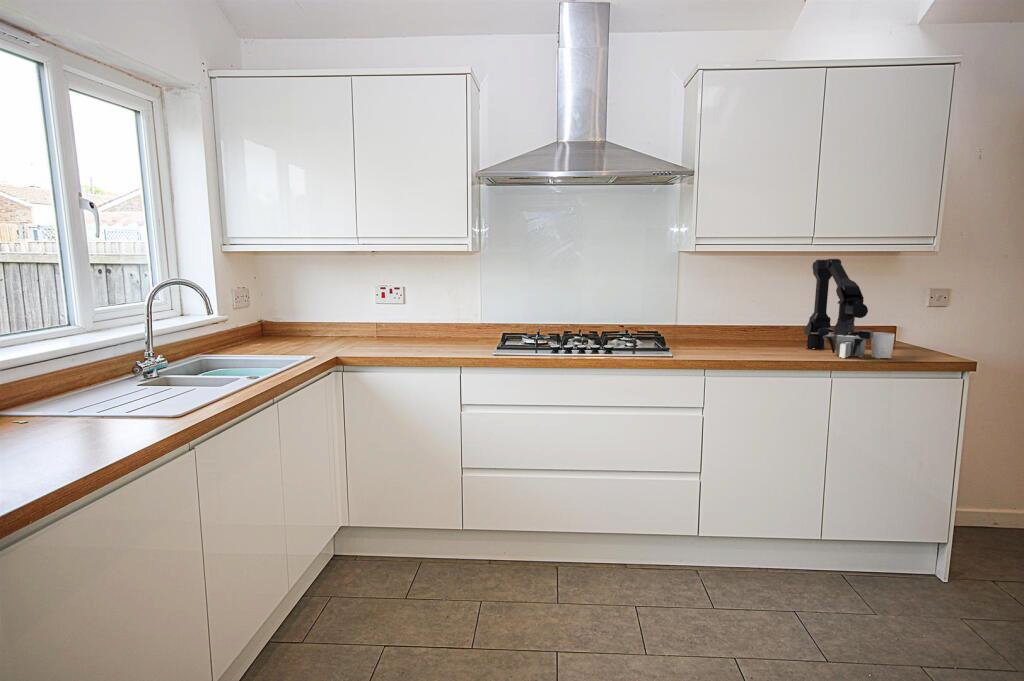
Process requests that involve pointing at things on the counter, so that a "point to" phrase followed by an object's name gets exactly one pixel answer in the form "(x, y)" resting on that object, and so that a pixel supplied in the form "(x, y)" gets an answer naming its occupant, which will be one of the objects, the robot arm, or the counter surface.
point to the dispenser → (844, 339)
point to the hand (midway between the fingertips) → (843, 354)
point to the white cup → (882, 344)
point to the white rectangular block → (846, 349)
